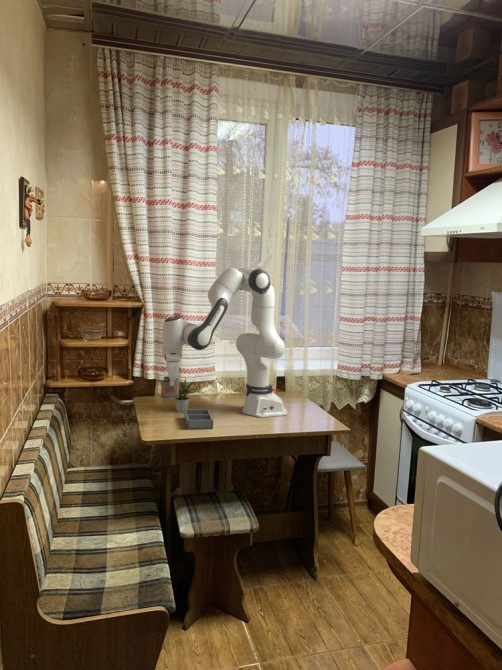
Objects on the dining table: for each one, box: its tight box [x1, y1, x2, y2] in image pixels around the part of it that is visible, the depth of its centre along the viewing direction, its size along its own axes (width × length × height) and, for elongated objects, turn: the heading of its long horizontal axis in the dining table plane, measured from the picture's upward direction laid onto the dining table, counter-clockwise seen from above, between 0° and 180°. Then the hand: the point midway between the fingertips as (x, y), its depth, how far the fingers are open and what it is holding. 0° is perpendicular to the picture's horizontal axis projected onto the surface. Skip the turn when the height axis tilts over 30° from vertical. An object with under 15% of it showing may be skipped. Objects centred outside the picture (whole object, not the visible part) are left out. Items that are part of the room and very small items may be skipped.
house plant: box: [174, 377, 198, 413], centre depth 254 cm, size 14×14×16 cm
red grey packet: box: [160, 375, 180, 400], centre depth 234 cm, size 8×3×10 cm, turn 107°
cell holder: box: [183, 408, 214, 431], centre depth 239 cm, size 11×16×4 cm
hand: (171, 383), depth 234 cm, fingers closed on red grey packet, 3 cm apart
